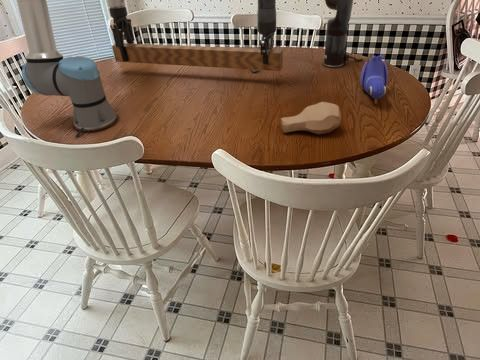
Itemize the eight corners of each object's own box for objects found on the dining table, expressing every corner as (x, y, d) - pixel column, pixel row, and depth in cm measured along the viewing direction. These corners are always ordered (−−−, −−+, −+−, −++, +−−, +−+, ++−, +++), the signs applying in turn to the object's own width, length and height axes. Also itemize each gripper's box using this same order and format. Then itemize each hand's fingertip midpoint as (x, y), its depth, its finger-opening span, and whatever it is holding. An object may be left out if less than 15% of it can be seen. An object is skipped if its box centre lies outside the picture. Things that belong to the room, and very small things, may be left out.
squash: (345, 135, 116) (346, 113, 109) (284, 145, 118) (282, 124, 111) (337, 115, 123) (337, 93, 117) (280, 125, 125) (277, 104, 119)
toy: (357, 95, 150) (363, 108, 128) (360, 53, 144) (367, 59, 122) (382, 94, 148) (392, 108, 126) (386, 52, 142) (398, 58, 119)
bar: (115, 61, 173) (111, 45, 169) (121, 58, 177) (117, 43, 172) (280, 71, 150) (280, 53, 146) (282, 67, 154) (282, 49, 149)
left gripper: (112, 10, 152) (125, 65, 165) (135, 3, 165) (145, 54, 179) (97, 10, 154) (111, 64, 167) (121, 3, 167) (132, 53, 181)
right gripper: (271, 24, 135) (271, 68, 145) (280, 15, 146) (279, 57, 156) (252, 23, 137) (254, 67, 148) (262, 15, 148) (263, 56, 158)
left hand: (129, 59), depth 173 cm, fingers closed on bar, 5 cm apart
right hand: (267, 61), depth 152 cm, fingers closed on bar, 4 cm apart
